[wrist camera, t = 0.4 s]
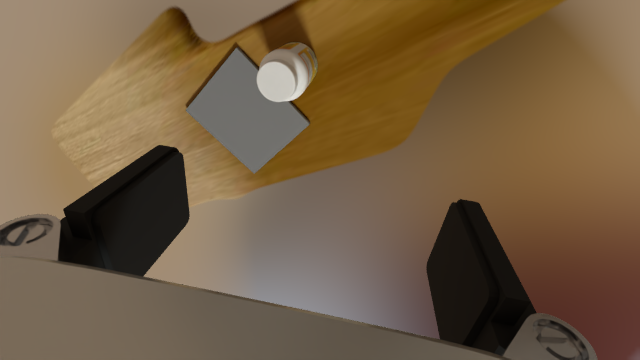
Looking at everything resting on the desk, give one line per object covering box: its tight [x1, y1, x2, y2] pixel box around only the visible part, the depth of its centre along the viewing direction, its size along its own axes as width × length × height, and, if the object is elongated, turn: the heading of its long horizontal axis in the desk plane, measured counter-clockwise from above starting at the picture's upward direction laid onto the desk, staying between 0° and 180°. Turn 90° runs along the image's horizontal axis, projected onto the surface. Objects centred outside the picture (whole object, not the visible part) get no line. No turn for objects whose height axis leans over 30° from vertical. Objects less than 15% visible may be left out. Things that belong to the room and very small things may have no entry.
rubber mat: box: [186, 47, 310, 173], centre depth 44 cm, size 12×13×1 cm
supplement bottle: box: [257, 42, 317, 102], centre depth 35 cm, size 5×5×10 cm
